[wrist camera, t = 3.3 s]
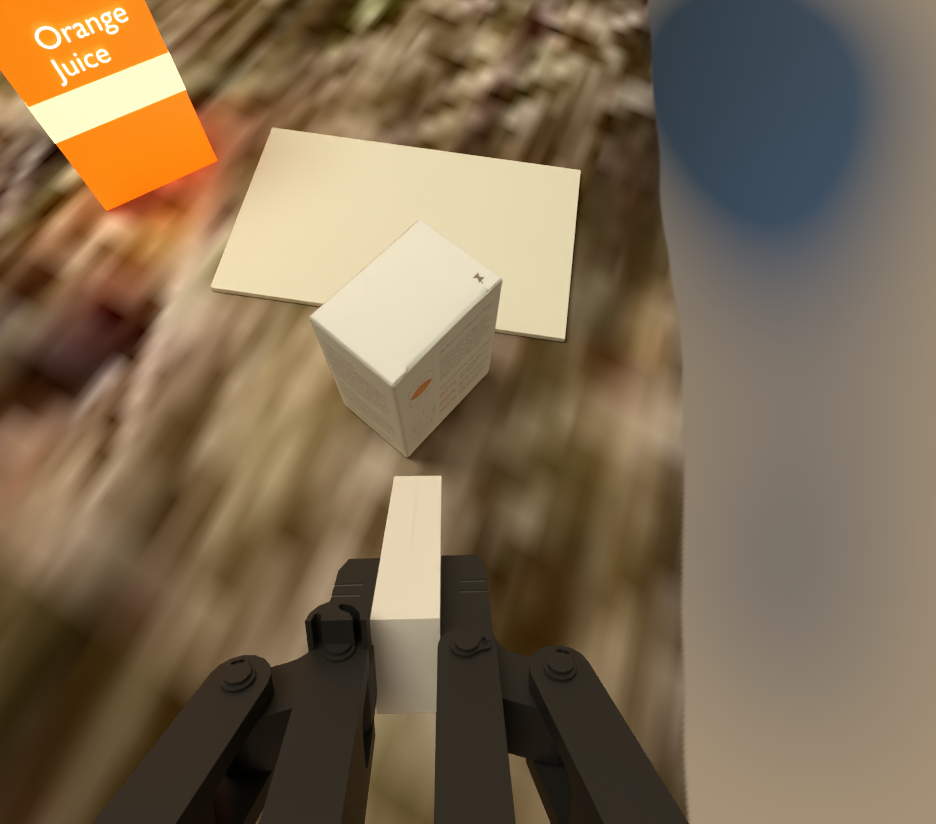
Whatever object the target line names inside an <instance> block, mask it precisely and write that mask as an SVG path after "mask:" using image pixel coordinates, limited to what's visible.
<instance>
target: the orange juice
mask: <svg viewBox="0 0 936 824" xmlns="http://www.w3.org/2000/svg"><path fill="white" fill-rule="evenodd" d="M0 70H1V71H2V73H3V74H4V75H5V77H6V78H7V79H8V81H9V82H10V83H11V85H12V86H13V87H14V89H15V90H16V91H17V93H18V94H19V95H20V97H21V98H22V99H23V101H24V102H25V104H26V105H27V107H28V109H29V110H30V111H31V113H32V114H33V115H34V117H35V118H36V119H37V121H38V122H39V123H40V124H41V126H42V127H43V128H44V130H45V131H46V132H47V134H48V135H49V136H50V138H51V139H52V140H53V142H54V143H55V144H57V146H58V147H59V148H60V150H61V151H62V152H63V154H64V155H65V156H66V158H67V159H68V160H69V162H70V163H71V164H72V166H73V167H74V168H75V170H76V171H77V172H78V174H79V175H80V176H81V178H82V179H83V180H84V182H85V183H86V184H87V186H88V187H89V188H90V190H91V191H92V192H93V194H94V195H95V196H96V198H97V199H98V200H99V202H100V203H101V204H102V206H103V207H104V208H105V210H106V211H108V210H110V209H113V208H115V207H117V206H119V205H121V204H124V203H126V202H128V201H130V200H132V199H135V198H137V197H139V196H141V195H143V194H146V193H148V192H150V191H152V190H154V189H157V188H159V187H161V186H163V185H165V184H168V183H170V182H172V181H174V180H176V179H179V178H181V177H183V176H185V175H187V174H190V173H192V172H194V171H196V170H198V169H201V168H203V167H205V166H207V165H209V164H212V163H214V162H216V161H217V158H216V156H215V154H214V152H213V150H212V147H211V145H210V143H209V141H208V139H207V136H206V134H205V132H204V130H203V128H202V125H201V123H200V121H199V119H198V117H197V114H196V112H195V110H194V108H193V106H192V103H191V101H190V99H189V97H188V95H187V92H186V89H185V86H184V84H183V82H182V80H181V77H180V75H179V73H178V71H177V69H176V66H175V64H174V62H173V60H172V58H171V55H170V53H169V52H168V50H167V49H166V46H165V44H164V42H163V40H162V38H161V35H160V33H159V31H158V29H157V27H156V24H155V22H154V20H153V18H152V16H151V13H150V11H149V9H148V7H147V5H146V2H145V0H0Z"/></svg>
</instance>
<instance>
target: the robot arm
mask: <svg viewBox="0 0 936 824" xmlns="http://www.w3.org/2000/svg"><path fill="white" fill-rule="evenodd" d="M305 626H306V634H307V642H308V649H309V652H308V653H307V654H306V655H304V656H302V657H300V658H299V659H297V660H294V661H291V662H288V663H285V664H281V665H278V666H274V667H270V665H269V663H268V662H267V661H266V660H265V659H264V658H261V657H258V656H255V655H243V656H239V657H235V658H232V659H230V660H228V661H226V662H224V663H222V664H220V665H219V666H218V667H217V668H216V669H215V670H214V671H213V672H211V673H210V675H209V676H208V677H207V678H206V680H205V681H204V682H203V684H202V685H201V686H200V687H199V689H198V690H197V691H196V692H195V694H194V695H193V696H192V698H191V699H190V700H189V701H188V703H187V704H186V705H185V706H184V708H183V709H182V710H181V712H180V713H179V714H178V715H177V717H176V718H175V719H174V720H173V722H172V723H171V724H170V726H169V727H168V728H167V729H166V731H165V732H164V733H163V735H162V736H161V737H160V738H159V740H158V741H157V742H156V743H155V745H154V746H153V747H152V749H151V750H150V751H149V752H148V754H147V755H146V756H145V757H144V759H143V760H142V761H141V763H140V764H139V765H138V766H137V768H136V769H135V770H134V772H133V773H132V774H131V775H130V777H129V778H128V779H127V780H126V782H125V783H124V784H123V786H122V787H121V788H120V789H119V791H118V792H117V793H116V794H115V796H114V797H113V798H112V800H111V801H110V802H109V803H108V805H107V806H106V807H105V809H104V810H103V811H102V812H101V814H100V815H99V816H98V817H97V819H96V820H95V821H94V823H93V824H255V823H256V821H257V819H258V817H259V815H260V813H261V812H262V810H263V812H262V815H261V819H260V822H259V824H364V823H365V815H366V807H367V798H368V790H369V782H370V774H371V766H372V758H373V749H374V741H375V726H374V715H375V707H376V708H377V714H400V713H433V712H436V750H435V802H434V824H516V823H515V814H514V804H513V795H512V786H511V777H510V767H509V758H508V753H511V754H514V755H518V756H521V757H525V758H526V763H527V766H528V768H529V771H530V773H531V776H532V778H533V781H534V783H535V786H536V788H537V790H538V793H539V795H540V798H541V800H542V803H543V805H544V808H545V810H546V813H547V815H548V818H549V820H550V823H551V824H689V823H688V822H687V820H686V819H685V817H684V815H683V814H682V812H681V810H680V809H679V807H678V806H677V804H676V802H675V801H674V799H673V798H672V796H671V794H670V793H669V791H668V789H667V788H666V786H665V785H664V783H663V781H662V780H661V778H660V777H659V775H658V773H657V772H656V770H655V768H654V767H653V765H652V764H651V762H650V760H649V759H648V757H647V756H646V754H645V752H644V751H643V749H642V747H641V746H640V744H639V743H638V741H637V739H636V738H635V736H634V735H633V733H632V731H631V730H630V728H629V726H628V725H627V723H626V722H625V720H624V718H623V717H622V715H621V714H620V712H619V710H618V709H617V707H616V705H615V704H614V702H613V701H612V699H611V697H610V696H609V694H608V693H607V691H606V689H605V688H604V686H603V684H602V683H601V681H600V680H599V678H598V676H597V675H596V673H595V672H594V670H593V668H592V667H591V665H590V663H589V662H588V661H587V660H586V659H585V657H584V656H583V655H582V654H581V653H579V652H577V651H575V650H574V649H572V648H569V647H564V646H560V645H558V646H547V647H544V648H542V649H539V650H538V651H537V652H536V653H535V654H534V655H533V656H532V658H531V657H527V656H523V655H519V654H516V653H513V652H510V651H509V650H507V649H505V648H504V647H503V646H501V645H500V644H499V643H498V642H497V640H496V639H495V637H494V634H493V631H492V622H491V613H490V604H489V594H488V585H487V575H486V566H485V565H484V564H483V562H482V561H481V560H480V558H479V557H478V556H477V555H455V556H443V542H442V484H441V476H394V482H393V488H392V493H391V499H390V505H389V511H388V517H387V523H386V529H385V534H384V540H383V546H382V552H381V558H372V559H349V560H348V561H347V562H346V563H345V564H344V565H343V566H342V567H341V569H340V570H339V571H338V574H337V578H336V582H335V587H334V589H333V593H332V597H331V600H330V602H328V603H325V604H323V605H320V606H318V607H317V608H316V609H314V610H313V611H312V612H311V613H310V614H309V615H308V617H307V619H306V620H305Z"/></svg>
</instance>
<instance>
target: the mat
mask: <svg viewBox="0 0 936 824" xmlns="http://www.w3.org/2000/svg"><path fill="white" fill-rule="evenodd" d="M580 172H581V170H575V169H568V168H560V167H553V166H546V165H539V164H532V163H524V162H517V161H510V160H503V159H495V158H488V157H481V156H474V155H466V154H459V153H452V152H445V151H438V150H430V149H423V148H416V147H409V146H401V145H394V144H387V143H380V142H372V141H365V140H358V139H351V138H344V137H336V136H329V135H322V134H315V133H307V132H300V131H293V130H286V129H279V128H272V130H271V132H270V135H269V137H268V140H267V143H266V145H265V148H264V150H263V153H262V156H261V158H260V161H259V163H258V166H257V168H256V171H255V174H254V176H253V179H252V181H251V184H250V186H249V189H248V192H247V194H246V197H245V199H244V202H243V205H242V207H241V210H240V212H239V215H238V217H237V220H236V223H235V225H234V228H233V230H232V233H231V235H230V238H229V241H228V243H227V246H226V248H225V251H224V253H223V256H222V259H221V261H220V264H219V266H218V269H217V272H216V274H215V277H214V279H213V282H212V284H211V287H210V288H211V289H212V291H217V292H224V293H231V294H238V295H245V296H251V297H258V298H265V299H272V300H279V301H286V302H293V303H299V304H306V305H313V306H321V305H323V304H324V303H325V302H326V301H327V300H328V299H330V298H331V297H332V296H333V295H334V294H335V293H336V292H337V291H339V290H340V289H341V288H342V287H343V286H344V285H346V284H347V283H348V282H349V281H350V280H351V279H352V278H353V277H355V276H356V275H357V274H358V273H359V272H360V271H361V270H362V269H364V268H365V267H366V266H367V265H368V264H369V263H371V262H372V261H373V260H374V259H375V258H376V257H377V256H378V255H380V254H381V253H382V252H383V251H384V250H385V249H386V248H387V247H389V246H390V245H391V244H392V243H393V242H394V241H395V240H396V239H398V238H399V237H400V236H401V235H402V234H403V233H404V232H406V231H407V230H408V229H409V228H410V227H411V226H412V225H414V224H415V223H416V222H417V221H418V220H422V221H423V222H424V223H426V224H427V225H429V226H430V227H432V228H433V229H435V230H436V231H437V232H439V233H440V234H442V235H443V236H444V237H446V238H447V239H448V240H450V241H451V242H453V243H454V244H455V245H457V246H458V247H460V248H461V249H462V250H464V251H465V252H467V253H468V254H469V255H471V256H472V257H474V258H475V259H476V260H478V261H479V262H480V263H482V264H483V265H485V266H486V267H487V268H489V269H490V270H491V271H493V272H494V273H496V274H497V275H498V276H500V277H501V278H502V286H501V293H500V300H499V306H498V313H497V320H496V327H495V332H498V333H505V334H512V335H519V336H526V337H533V338H540V339H547V340H553V341H560V342H564V340H565V334H566V323H567V312H568V301H569V290H570V280H571V269H572V258H573V247H574V237H575V226H576V215H577V204H578V194H579V183H580Z"/></svg>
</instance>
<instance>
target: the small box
mask: <svg viewBox="0 0 936 824" xmlns="http://www.w3.org/2000/svg"><path fill="white" fill-rule="evenodd" d="M501 286H502V278H501V277H500V276H498V275H497V274H496V273H494V272H493V271H491V270H490V269H489V268H487V267H486V266H485V265H483V264H482V263H480V262H479V261H478V260H476V259H475V258H474V257H472V256H471V255H469V254H468V253H467V252H465V251H464V250H462V249H461V248H460V247H458V246H457V245H455V244H454V243H453V242H451V241H450V240H448V239H447V238H446V237H444V236H443V235H442V234H440V233H439V232H437V231H436V230H435V229H433V228H432V227H430V226H429V225H427V224H426V223H424V222H423V221H422V220H418V221H417V222H416V223H415V224H414V225H412V226H411V227H410V228H409V229H408V230H407V231H406V232H404V233H403V234H402V235H401V236H400V237H399V238H398V239H396V240H395V241H394V242H393V243H392V244H391V245H390V246H389V247H387V248H386V249H385V250H384V251H383V252H382V253H381V254H380V255H378V256H377V257H376V258H375V259H374V260H373V261H372V262H371V263H369V264H368V265H367V266H366V267H365V268H364V269H362V270H361V271H360V272H359V273H358V274H357V275H356V276H355V277H353V278H352V279H351V280H350V281H349V282H348V283H347V284H346V285H344V286H343V287H342V288H341V289H340V290H339V291H337V292H336V293H335V294H334V295H333V296H332V297H331V298H330V299H328V300H327V301H326V302H325V303H324V304H323V305H321V306H320V307H319V308H318V309H317V310H316V311H315V312H314V313H312V314H311V315H310V321H311V324H312V326H313V329H314V331H315V333H316V336H317V338H318V341H319V343H320V346H321V348H322V350H323V353H324V355H325V358H326V361H327V363H328V366H329V368H330V370H331V373H332V375H333V378H334V380H335V382H336V385H337V387H338V390H339V392H340V395H341V397H342V399H343V402H344V404H345V405H346V406H347V407H348V408H349V409H350V410H351V411H352V412H354V413H355V414H356V415H357V416H358V417H359V418H360V419H362V420H363V421H364V422H365V423H366V424H367V425H369V426H370V427H371V428H372V429H373V430H374V431H376V432H377V433H378V434H379V435H380V436H382V437H383V438H384V439H385V440H386V441H387V442H389V443H390V444H391V445H392V446H393V447H394V448H396V449H397V450H398V451H399V452H401V453H402V454H403V455H404V456H405V457H409V456H410V455H411V454H412V453H413V452H414V450H415V449H416V448H417V447H418V446H419V445H420V444H421V443H422V442H423V441H424V440H425V439H426V438H427V437H428V436H429V434H430V433H431V432H432V431H433V430H434V429H435V428H436V427H437V426H438V425H439V424H440V423H441V422H442V421H443V420H444V419H445V418H446V416H447V415H448V414H449V413H450V412H451V411H452V410H453V409H454V408H455V407H456V406H457V405H458V404H459V403H460V402H461V401H462V400H463V398H464V397H465V396H466V395H467V394H468V393H469V392H470V391H471V390H472V389H473V388H474V387H475V386H476V385H477V384H478V382H479V381H480V380H481V379H482V378H483V377H484V376H485V375H486V374H487V373H488V372H489V367H490V360H491V355H492V348H493V341H494V334H495V327H496V320H497V313H498V306H499V300H500V293H501Z"/></svg>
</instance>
